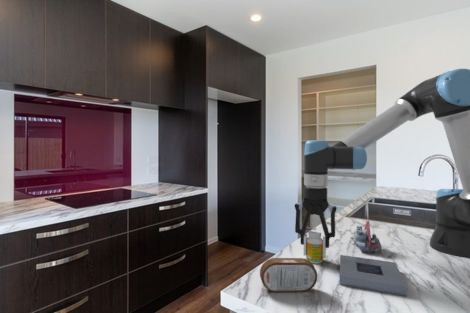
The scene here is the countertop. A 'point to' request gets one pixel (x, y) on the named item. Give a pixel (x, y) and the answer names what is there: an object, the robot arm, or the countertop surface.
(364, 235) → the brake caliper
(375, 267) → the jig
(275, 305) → the countertop surface
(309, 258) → the supplement bottle
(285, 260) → the tin
